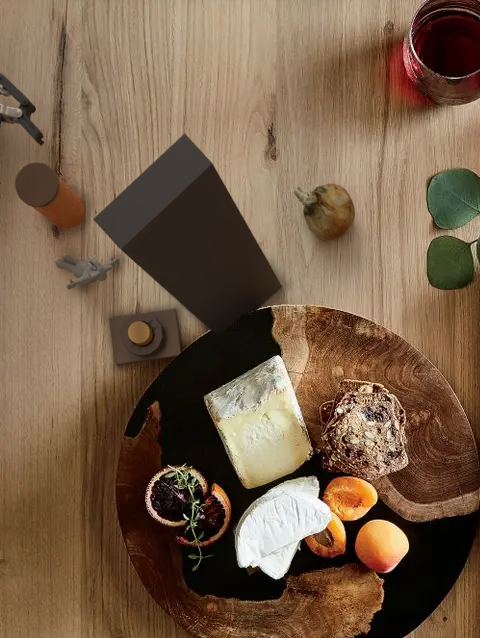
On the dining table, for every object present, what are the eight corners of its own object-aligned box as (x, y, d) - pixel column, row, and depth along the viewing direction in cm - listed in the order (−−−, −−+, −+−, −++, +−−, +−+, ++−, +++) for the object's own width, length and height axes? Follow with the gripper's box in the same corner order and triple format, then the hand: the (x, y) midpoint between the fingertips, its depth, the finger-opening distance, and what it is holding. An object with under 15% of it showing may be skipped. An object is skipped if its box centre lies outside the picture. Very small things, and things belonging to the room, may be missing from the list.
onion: (314, 254, 122) (308, 236, 114) (297, 202, 122) (290, 181, 114) (363, 237, 122) (360, 218, 114) (346, 186, 122) (342, 164, 114)
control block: (117, 365, 123) (111, 362, 120) (110, 318, 123) (104, 315, 120) (182, 356, 123) (178, 353, 120) (176, 309, 123) (172, 305, 120)
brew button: (132, 346, 121) (129, 344, 119) (130, 325, 121) (126, 322, 119) (154, 343, 120) (151, 341, 119) (151, 322, 120) (148, 319, 119)
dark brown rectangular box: (151, 262, 123) (8, 127, 79) (210, 207, 122) (99, 40, 78) (223, 341, 122) (120, 249, 78) (282, 286, 122) (212, 163, 78)
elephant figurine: (83, 229, 123) (126, 246, 120) (91, 266, 127) (134, 283, 124) (29, 255, 117) (73, 273, 113) (40, 293, 121) (83, 311, 118)
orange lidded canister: (49, 232, 123) (17, 208, 113) (44, 193, 123) (12, 165, 113) (88, 227, 123) (60, 202, 113) (83, 187, 123) (54, 159, 113)
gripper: (-111, 100, 114) (-32, 186, 113) (-36, 29, 113) (43, 115, 113) (-79, 125, 121) (-5, 206, 121) (-9, 59, 121) (65, 139, 120)
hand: (18, 162), depth 117 cm, fingers open, 8 cm apart
